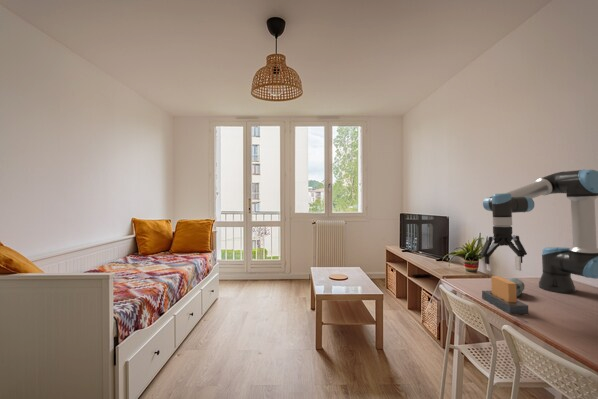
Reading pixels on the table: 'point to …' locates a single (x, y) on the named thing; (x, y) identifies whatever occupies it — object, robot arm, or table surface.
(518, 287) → the spool
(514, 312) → the cinder block
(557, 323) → the table surface
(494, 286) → the wooden arch block
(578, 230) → the robot arm
